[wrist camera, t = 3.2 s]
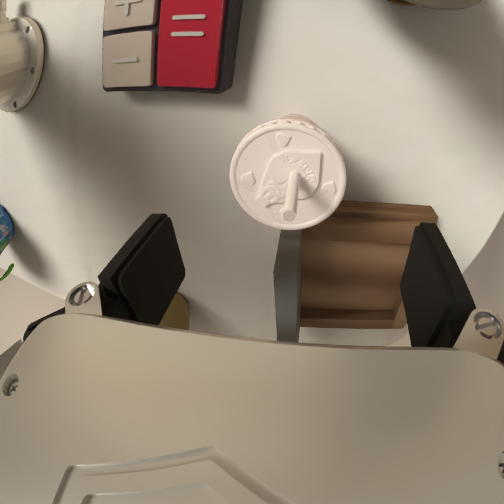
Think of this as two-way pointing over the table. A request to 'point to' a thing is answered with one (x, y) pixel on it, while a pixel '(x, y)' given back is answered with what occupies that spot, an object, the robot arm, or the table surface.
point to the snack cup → (5, 235)
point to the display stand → (346, 268)
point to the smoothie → (288, 173)
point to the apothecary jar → (439, 3)
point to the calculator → (170, 45)
